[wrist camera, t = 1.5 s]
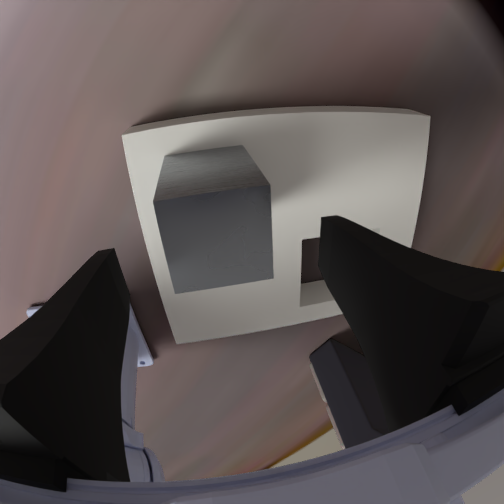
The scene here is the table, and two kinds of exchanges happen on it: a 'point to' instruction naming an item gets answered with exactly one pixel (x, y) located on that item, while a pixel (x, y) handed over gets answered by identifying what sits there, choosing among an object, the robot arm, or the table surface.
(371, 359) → the robot arm
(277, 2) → the table surface
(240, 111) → the slot board
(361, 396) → the dark grey rectangular block
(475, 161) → the table surface
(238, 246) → the pin
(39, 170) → the table surface
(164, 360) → the table surface
